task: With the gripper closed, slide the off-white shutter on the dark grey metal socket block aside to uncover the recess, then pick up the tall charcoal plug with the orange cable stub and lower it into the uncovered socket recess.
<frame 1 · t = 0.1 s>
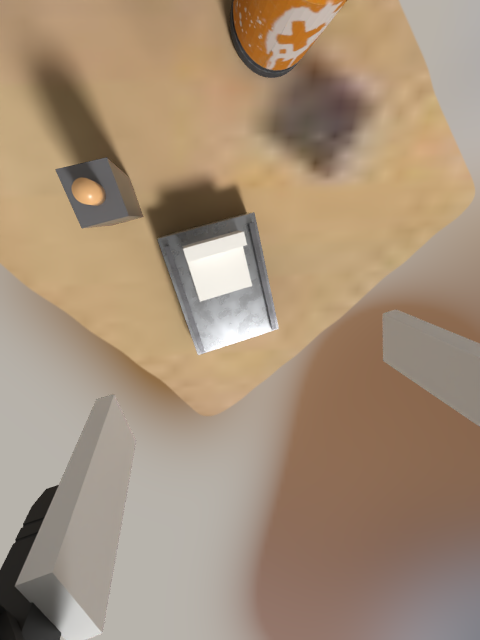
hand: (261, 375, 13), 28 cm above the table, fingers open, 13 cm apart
plug: (120, 202, 34), on the table
socket: (217, 275, 39), on the table
canister: (266, 20, 31), on the table
shutter: (220, 268, 33), point 6 cm above the table, slide at 0.0 cm
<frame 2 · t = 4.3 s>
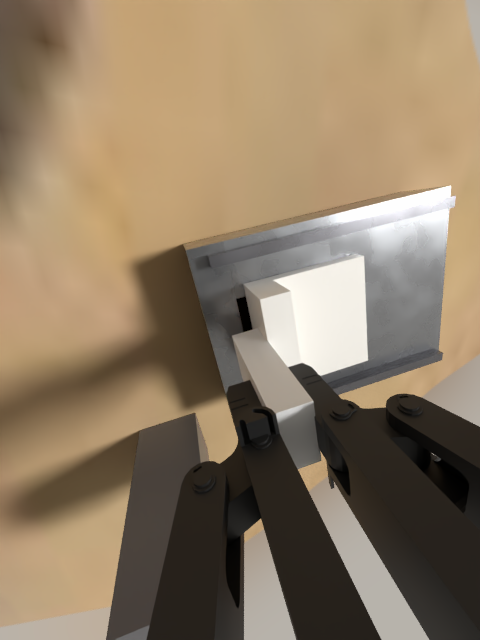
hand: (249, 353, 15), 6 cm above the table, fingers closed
plug: (175, 440, 23), on the table
socket: (295, 301, 21), on the table
shutter: (320, 333, 16), point 6 cm above the table, slide at 1.1 cm, touching gripper
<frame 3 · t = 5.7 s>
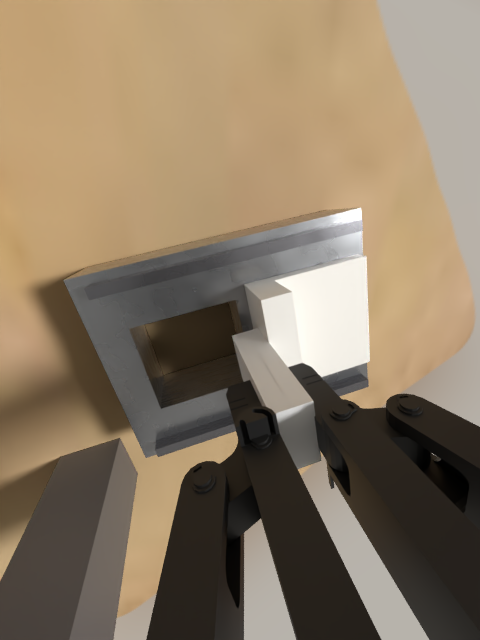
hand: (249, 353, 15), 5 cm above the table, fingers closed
plug: (100, 465, 22), on the table
socket: (219, 323, 20), on the table
shutter: (322, 334, 16), point 6 cm above the table, slide at 7.1 cm, touching gripper
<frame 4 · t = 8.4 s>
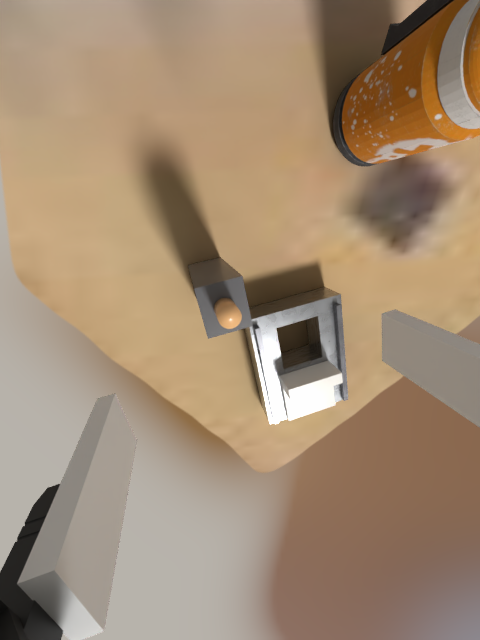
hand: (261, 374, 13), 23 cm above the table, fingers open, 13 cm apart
plug: (208, 279, 34), on the table
socket: (290, 343, 40), on the table
canister: (364, 113, 32), on the table
shutter: (312, 396, 36), point 6 cm above the table, slide at 7.2 cm
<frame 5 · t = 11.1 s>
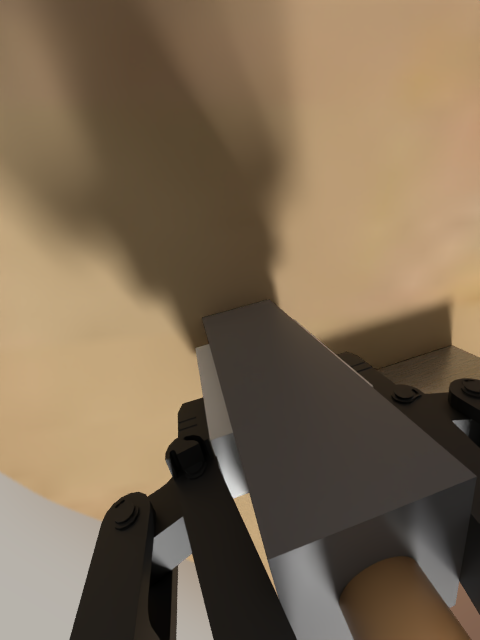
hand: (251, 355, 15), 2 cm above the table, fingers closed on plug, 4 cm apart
plug: (244, 342, 17), on the table, touching gripper
socket: (380, 441, 22), on the table
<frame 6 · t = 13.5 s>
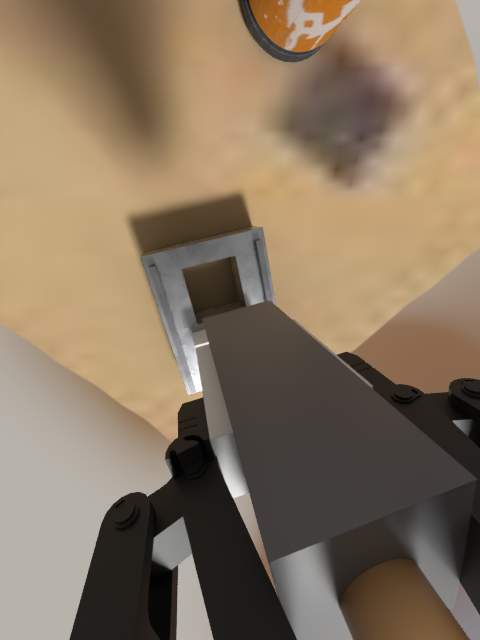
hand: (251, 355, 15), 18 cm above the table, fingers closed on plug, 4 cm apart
plug: (244, 343, 17), point 17 cm above the table, touching gripper
socket: (215, 298, 33), on the table
shutter: (234, 358, 30), point 6 cm above the table, slide at 7.2 cm
when the fingers open (5 cm above the table, at t = 16.1 s): plug drops 3 cm, resting in socket.
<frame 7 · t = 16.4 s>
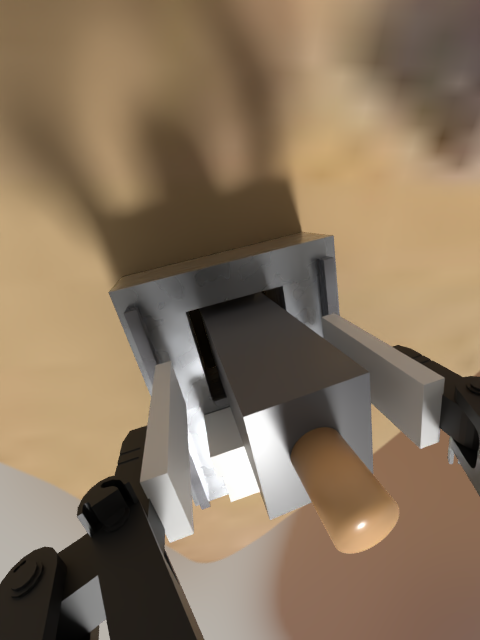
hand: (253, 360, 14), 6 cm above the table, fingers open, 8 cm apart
plug: (232, 323, 20), resting in socket
socket: (238, 347, 21), on the table
shutter: (275, 458, 17), point 6 cm above the table, slide at 7.2 cm
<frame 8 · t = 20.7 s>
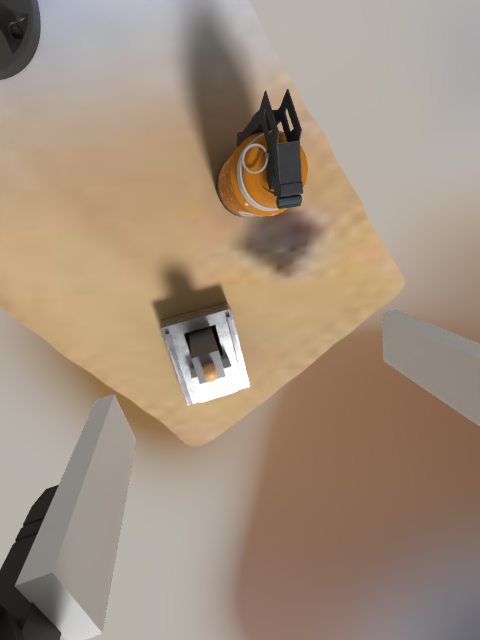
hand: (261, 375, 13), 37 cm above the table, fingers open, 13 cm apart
plug: (201, 335, 51), resting in socket
socket: (204, 345, 52), on the table
canister: (242, 179, 44), on the table
shutter: (215, 384, 49), point 6 cm above the table, slide at 7.2 cm
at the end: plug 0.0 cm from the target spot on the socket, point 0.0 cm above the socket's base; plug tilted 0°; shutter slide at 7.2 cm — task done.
